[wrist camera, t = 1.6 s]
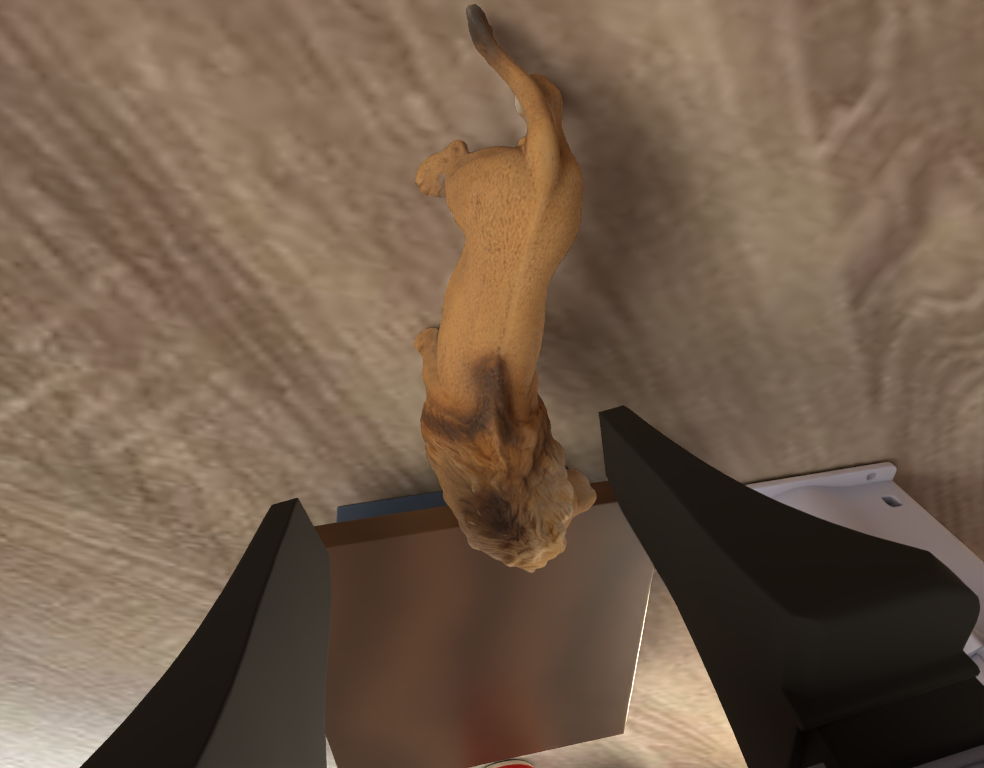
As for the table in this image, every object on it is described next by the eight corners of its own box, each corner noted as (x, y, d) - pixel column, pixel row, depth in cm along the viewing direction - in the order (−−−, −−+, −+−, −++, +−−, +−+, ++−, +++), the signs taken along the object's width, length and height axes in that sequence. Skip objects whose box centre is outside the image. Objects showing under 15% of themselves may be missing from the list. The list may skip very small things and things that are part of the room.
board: (655, 472, 23) (668, 493, 22) (616, 712, 33) (624, 733, 32) (265, 533, 21) (260, 558, 20) (347, 769, 31) (347, 794, 30)
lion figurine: (543, 411, 25) (619, 581, 18) (419, 427, 24) (444, 613, 17) (553, 1, 17) (702, -2, 10) (368, 8, 16) (375, 8, 9)
